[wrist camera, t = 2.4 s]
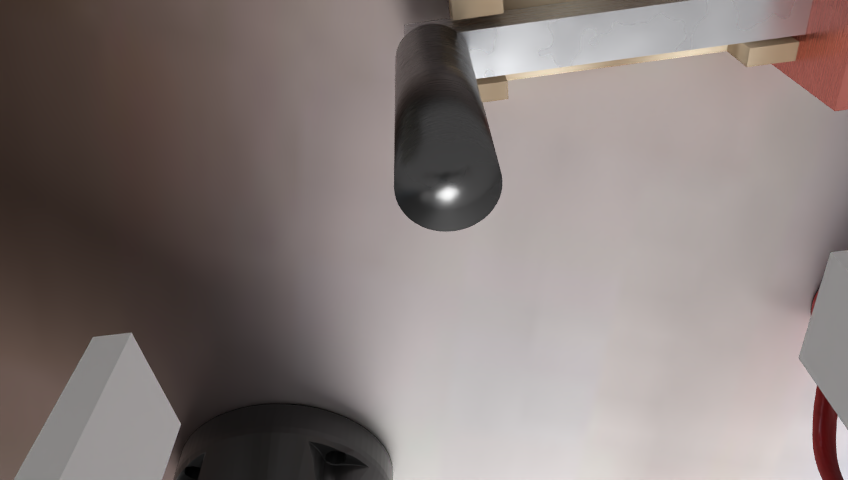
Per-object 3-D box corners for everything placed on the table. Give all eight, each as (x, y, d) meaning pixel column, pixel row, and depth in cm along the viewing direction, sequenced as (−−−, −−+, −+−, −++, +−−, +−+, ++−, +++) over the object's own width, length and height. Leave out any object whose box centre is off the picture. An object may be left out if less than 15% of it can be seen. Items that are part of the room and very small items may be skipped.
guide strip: (456, 79, 30) (461, 105, 27) (446, -20, 27) (451, -1, 25) (762, 37, 29) (795, 60, 27) (781, -68, 27) (819, -53, 24)
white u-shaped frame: (405, 104, 30) (409, 277, 20) (385, -30, 27) (376, 92, 16) (788, 53, 29) (1008, 204, 19) (818, -92, 26) (1108, -7, 15)
